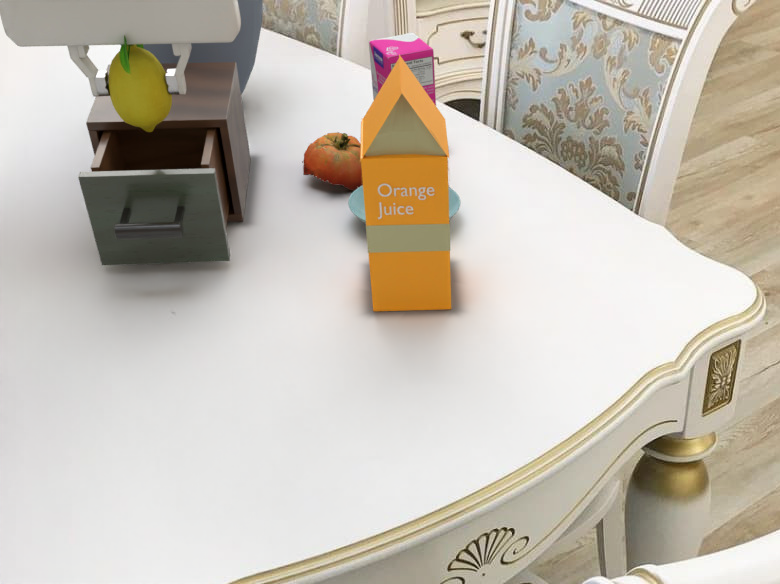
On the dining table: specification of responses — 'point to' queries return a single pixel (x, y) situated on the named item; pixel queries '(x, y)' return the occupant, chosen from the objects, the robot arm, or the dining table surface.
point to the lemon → (139, 87)
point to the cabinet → (198, 120)
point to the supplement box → (412, 53)
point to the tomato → (335, 160)
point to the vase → (224, 44)
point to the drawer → (159, 196)
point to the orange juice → (406, 196)
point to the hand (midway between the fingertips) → (140, 93)
